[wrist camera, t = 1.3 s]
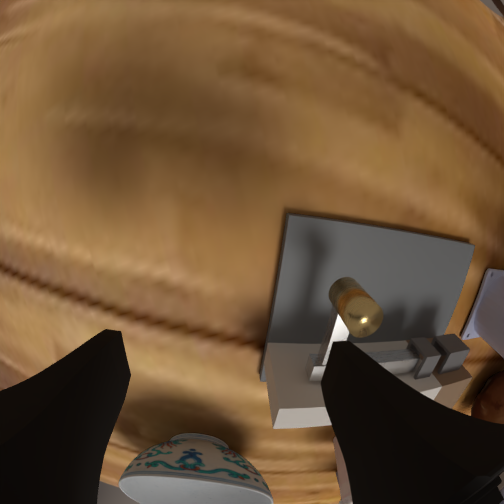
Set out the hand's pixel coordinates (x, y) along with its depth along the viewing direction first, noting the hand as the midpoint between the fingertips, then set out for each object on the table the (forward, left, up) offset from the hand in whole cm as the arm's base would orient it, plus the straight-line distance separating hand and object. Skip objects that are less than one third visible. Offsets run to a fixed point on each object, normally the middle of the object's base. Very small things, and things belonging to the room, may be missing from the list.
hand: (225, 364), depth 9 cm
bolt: (-9, +2, -6) cm, 11 cm away
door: (-11, +2, -9) cm, 15 cm away
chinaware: (+2, +22, -10) cm, 24 cm away
